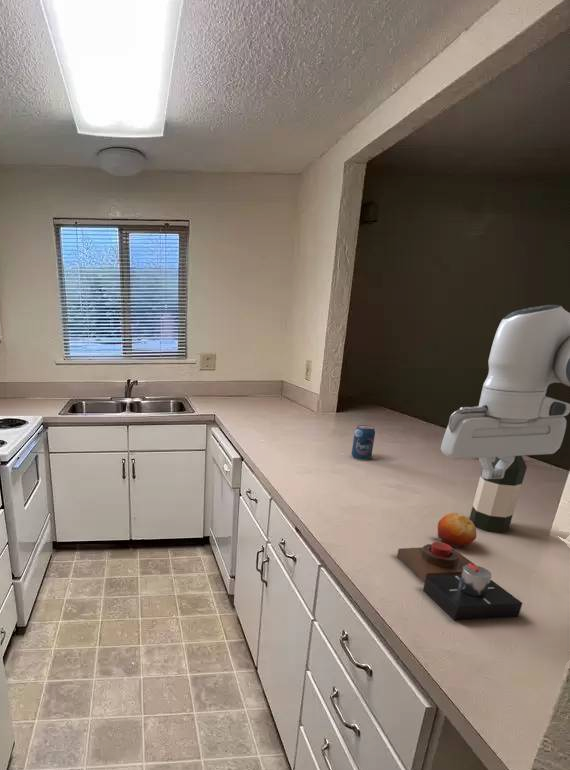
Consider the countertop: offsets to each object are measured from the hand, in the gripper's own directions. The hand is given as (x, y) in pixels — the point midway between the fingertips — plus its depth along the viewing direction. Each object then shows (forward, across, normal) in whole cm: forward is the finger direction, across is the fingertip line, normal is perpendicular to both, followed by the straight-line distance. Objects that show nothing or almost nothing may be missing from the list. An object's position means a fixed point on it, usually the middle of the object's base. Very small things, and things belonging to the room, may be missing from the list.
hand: (491, 477), depth 81 cm
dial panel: (+22, -5, -7) cm, 24 cm away
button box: (+22, -3, +5) cm, 23 cm away
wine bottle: (+23, +23, +23) cm, 39 cm away
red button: (+19, -3, +5) cm, 19 cm away
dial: (+19, -5, -7) cm, 21 cm away
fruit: (+23, +8, +15) cm, 28 cm away
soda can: (+23, +17, +80) cm, 85 cm away
